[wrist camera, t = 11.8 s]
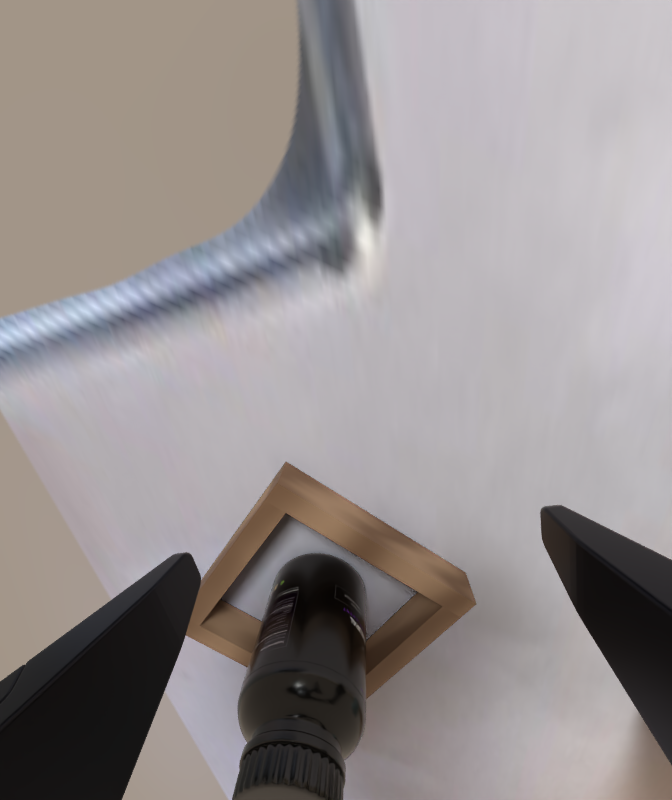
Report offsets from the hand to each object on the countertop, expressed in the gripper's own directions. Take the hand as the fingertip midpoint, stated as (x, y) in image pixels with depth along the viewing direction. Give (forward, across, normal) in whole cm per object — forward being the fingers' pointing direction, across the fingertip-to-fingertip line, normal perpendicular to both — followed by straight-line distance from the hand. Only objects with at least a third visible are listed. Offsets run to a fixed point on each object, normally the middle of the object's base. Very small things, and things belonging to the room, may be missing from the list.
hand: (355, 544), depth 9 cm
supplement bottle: (+13, +6, +14) cm, 20 cm away
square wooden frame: (+13, +6, +14) cm, 20 cm away
